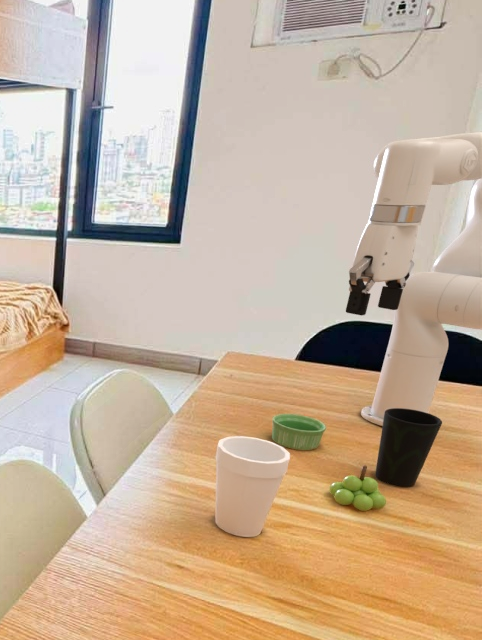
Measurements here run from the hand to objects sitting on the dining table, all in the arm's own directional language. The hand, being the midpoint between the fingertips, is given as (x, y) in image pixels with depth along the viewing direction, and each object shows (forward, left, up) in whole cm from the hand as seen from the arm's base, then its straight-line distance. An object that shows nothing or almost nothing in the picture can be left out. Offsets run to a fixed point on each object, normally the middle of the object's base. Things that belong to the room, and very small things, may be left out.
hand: (371, 311), depth 116 cm
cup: (+14, +9, -27) cm, 31 cm away
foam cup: (+46, -10, -27) cm, 54 cm away
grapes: (+27, +4, -26) cm, 38 cm away
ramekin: (+6, -7, -27) cm, 28 cm away
